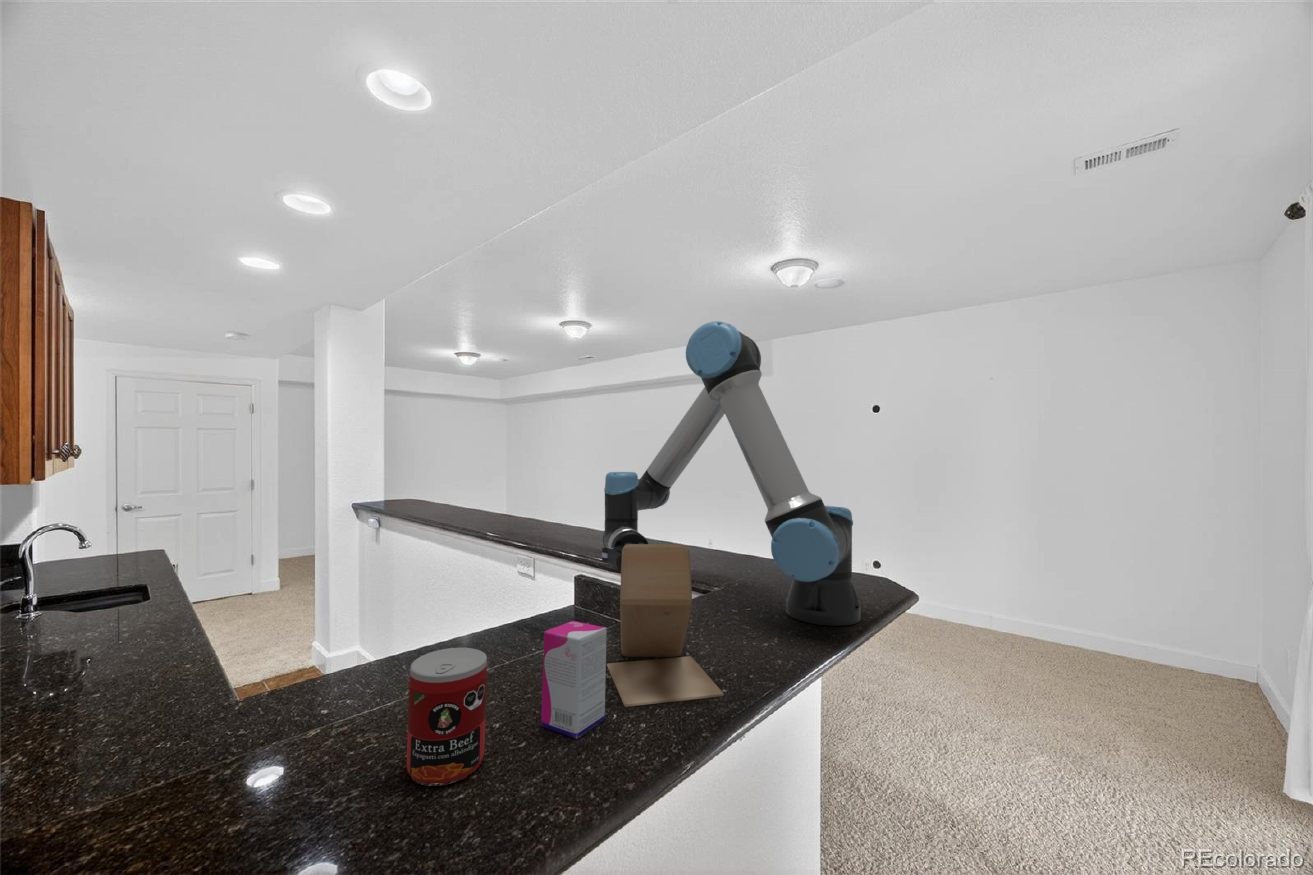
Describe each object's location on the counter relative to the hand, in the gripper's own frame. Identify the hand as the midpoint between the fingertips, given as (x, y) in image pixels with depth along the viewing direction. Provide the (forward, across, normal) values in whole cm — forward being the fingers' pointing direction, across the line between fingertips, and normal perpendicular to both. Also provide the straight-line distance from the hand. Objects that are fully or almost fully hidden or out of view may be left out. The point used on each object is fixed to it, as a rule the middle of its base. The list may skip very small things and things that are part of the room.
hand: (652, 570), depth 88 cm
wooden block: (-3, 0, -10) cm, 11 cm away
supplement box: (+19, +14, -14) cm, 28 cm away
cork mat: (+9, +1, -14) cm, 17 cm away
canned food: (+26, +28, -14) cm, 41 cm away
